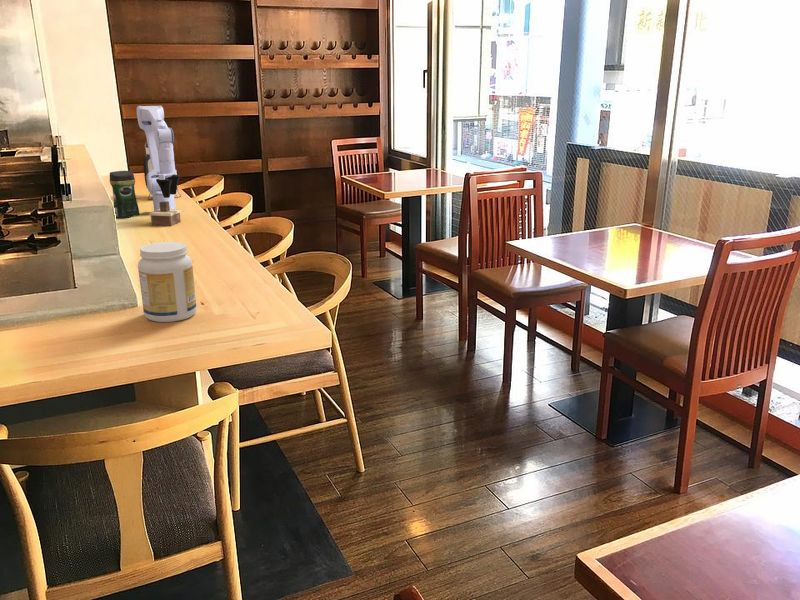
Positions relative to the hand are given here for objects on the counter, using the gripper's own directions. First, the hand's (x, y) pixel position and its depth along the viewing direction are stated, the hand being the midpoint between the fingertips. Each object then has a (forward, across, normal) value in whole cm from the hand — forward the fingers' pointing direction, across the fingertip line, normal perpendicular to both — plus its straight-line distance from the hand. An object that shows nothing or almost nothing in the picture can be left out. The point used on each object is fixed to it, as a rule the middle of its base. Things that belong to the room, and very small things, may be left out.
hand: (170, 196), depth 264 cm
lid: (+6, +5, -1) cm, 8 cm away
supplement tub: (+11, +109, +36) cm, 116 cm away
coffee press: (+10, -55, -23) cm, 60 cm away
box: (+10, +5, -1) cm, 12 cm away
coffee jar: (+11, -12, -23) cm, 28 cm away
